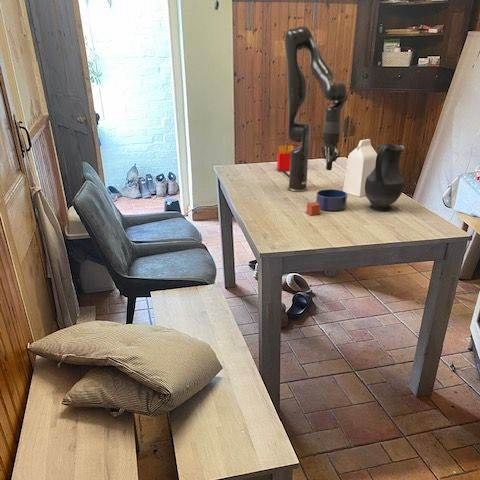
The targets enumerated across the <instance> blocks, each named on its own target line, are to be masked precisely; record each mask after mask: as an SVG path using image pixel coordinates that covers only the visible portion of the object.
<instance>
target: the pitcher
mask: <svg viewBox="0 0 480 480" xmlns="http://www.w3.org/2000/svg"><path fill="white" fill-rule="evenodd" d="M376 148H377V150H378V151H377V157H376V163H375V168H374V170H373V171H372V172H371V174H370V175H368V176H367V178H366V181H365V194H366V195H365V196H366V198H367V200H368V201H369V202H370V205H369V208H370V210H373V211H376V212H389V211H391V210H392V207H391V205H393V204H394V203H395V202H397V201H398V199H399V198H400V197H401V196H402V193H403V191H404V187H405V179H404V178H403V176H402V174H401V171H400V158H401V156H402V153H403V151H404V150H405V146H403V145H401V144H400V145H397V144H393V143H381V144H377V146H376Z"/></svg>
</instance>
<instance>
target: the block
mask: <svg viewBox="0 0 480 480" xmlns="http://www.w3.org/2000/svg"><path fill="white" fill-rule="evenodd" d="M320 206H321V205H320V204H318V203H316V201H313V202H307V203H306V213H307V214H308V215H310V216H317V215H321V209H320Z"/></svg>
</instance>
